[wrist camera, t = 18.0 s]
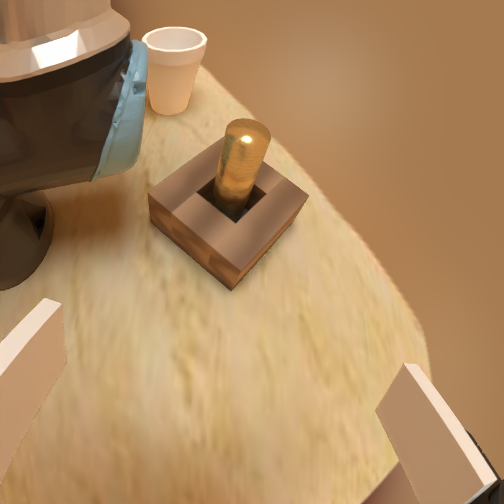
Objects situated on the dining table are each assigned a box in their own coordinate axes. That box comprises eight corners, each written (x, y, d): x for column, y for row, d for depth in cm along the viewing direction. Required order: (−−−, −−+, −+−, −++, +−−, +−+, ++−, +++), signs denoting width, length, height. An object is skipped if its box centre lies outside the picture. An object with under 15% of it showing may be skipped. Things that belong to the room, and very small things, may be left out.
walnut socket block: (150, 221, 37) (147, 192, 32) (219, 165, 43) (225, 135, 38) (231, 291, 35) (241, 271, 30) (292, 221, 41) (309, 195, 36)
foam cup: (208, 106, 48) (220, 41, 37) (164, 129, 44) (168, 58, 33) (173, 83, 50) (179, 22, 38) (131, 102, 45) (130, 37, 34)
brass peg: (201, 216, 37) (216, 130, 25) (222, 197, 39) (245, 113, 27) (226, 237, 37) (252, 155, 25) (247, 217, 39) (279, 135, 27)
